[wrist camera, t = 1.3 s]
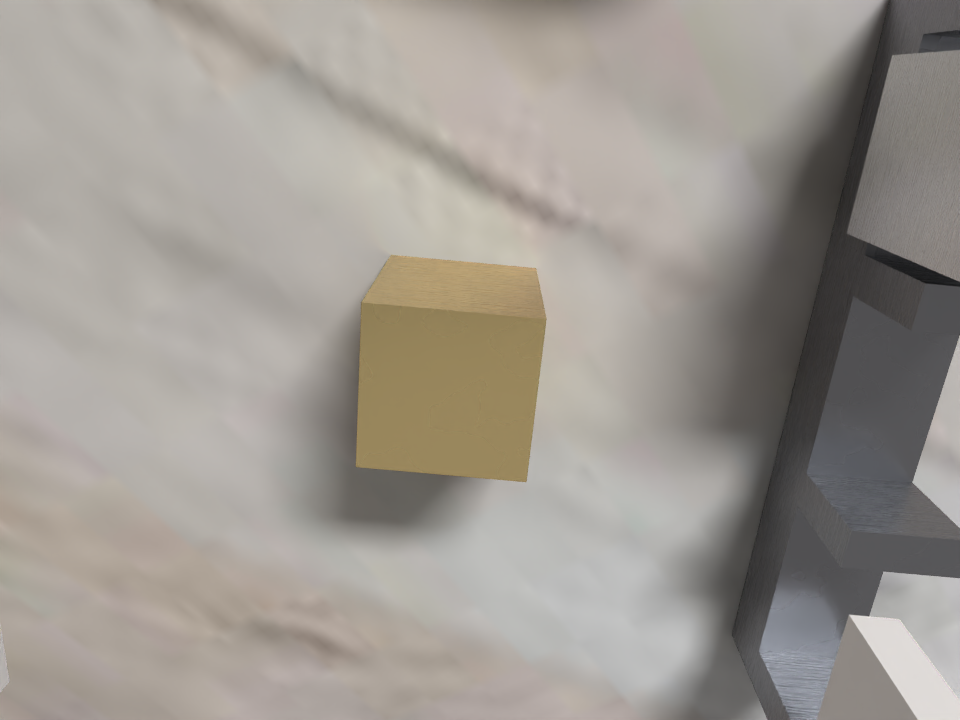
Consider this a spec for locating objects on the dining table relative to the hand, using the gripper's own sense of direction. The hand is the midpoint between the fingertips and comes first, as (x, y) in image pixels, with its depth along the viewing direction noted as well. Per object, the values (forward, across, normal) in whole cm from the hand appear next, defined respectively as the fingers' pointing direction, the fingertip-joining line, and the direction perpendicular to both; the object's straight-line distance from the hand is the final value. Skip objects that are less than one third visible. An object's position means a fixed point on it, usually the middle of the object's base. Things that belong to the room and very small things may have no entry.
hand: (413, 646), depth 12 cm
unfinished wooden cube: (+16, 0, 0) cm, 16 cm away
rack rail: (+16, +14, 0) cm, 21 cm away
